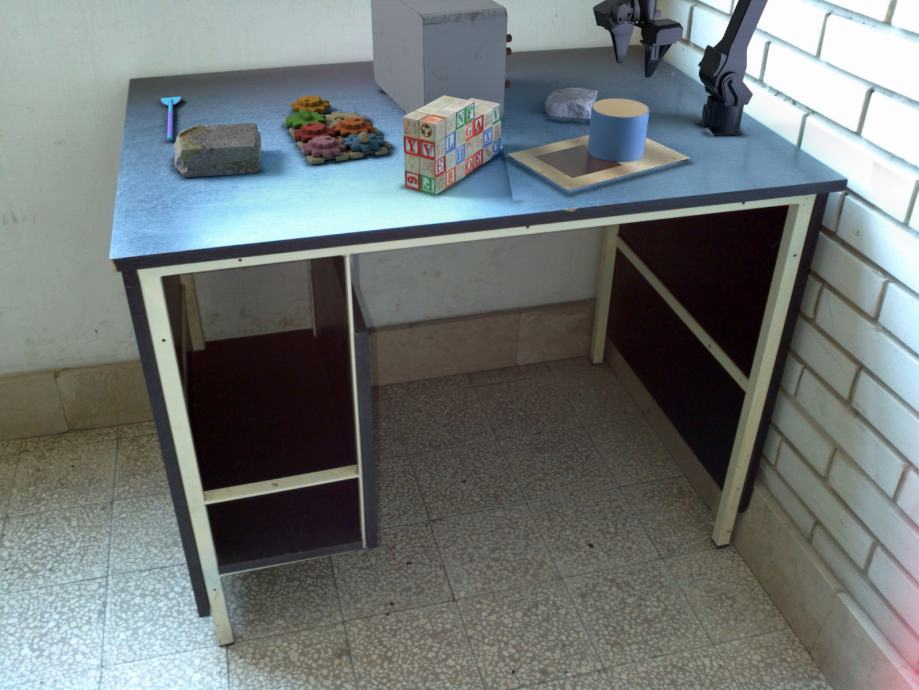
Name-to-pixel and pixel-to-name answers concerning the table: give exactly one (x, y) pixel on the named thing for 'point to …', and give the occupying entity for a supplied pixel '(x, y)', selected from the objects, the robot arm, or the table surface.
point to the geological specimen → (218, 150)
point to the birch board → (589, 162)
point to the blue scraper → (170, 114)
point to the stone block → (571, 103)
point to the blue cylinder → (618, 130)
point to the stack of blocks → (449, 141)
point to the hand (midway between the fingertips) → (633, 70)
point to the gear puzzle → (332, 132)
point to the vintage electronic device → (440, 50)
